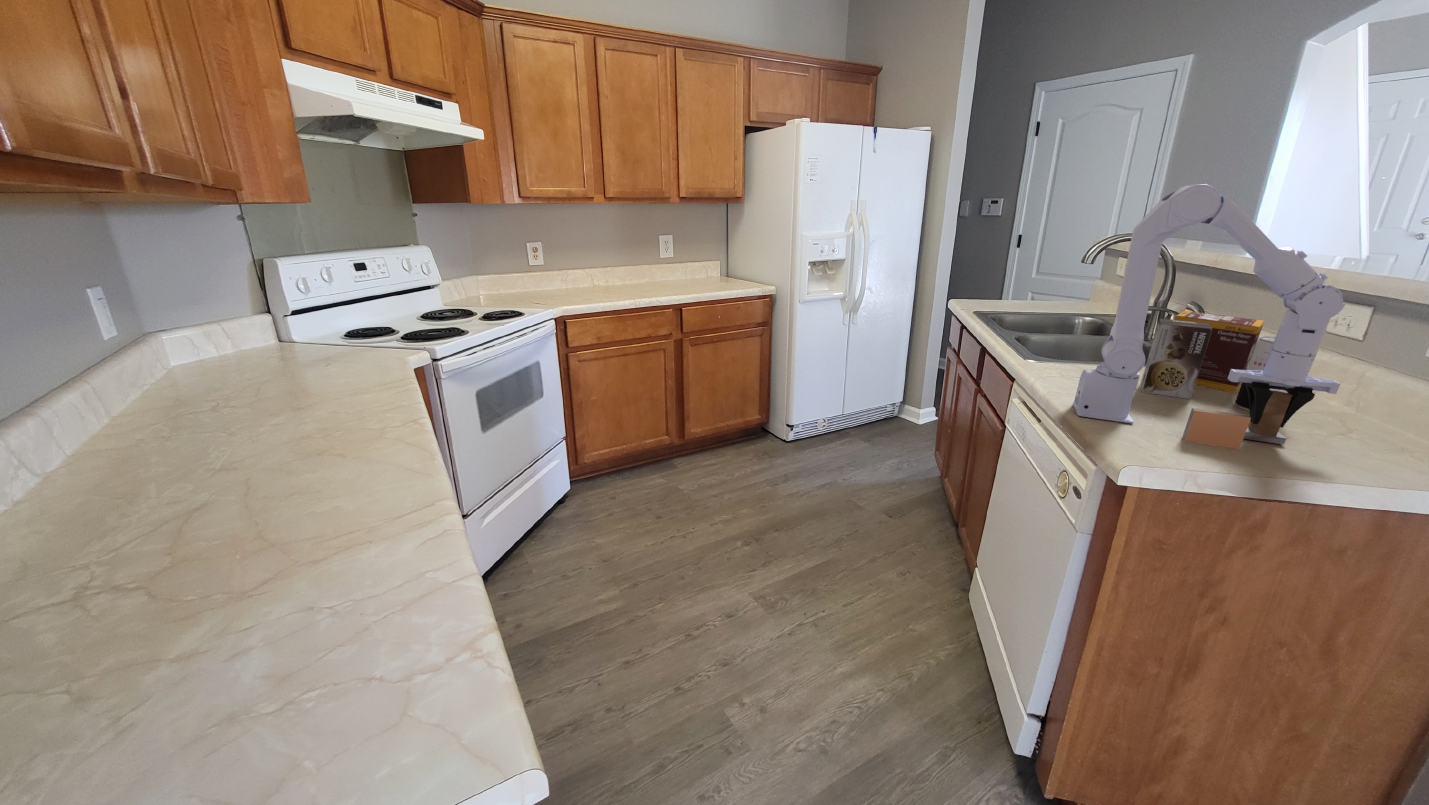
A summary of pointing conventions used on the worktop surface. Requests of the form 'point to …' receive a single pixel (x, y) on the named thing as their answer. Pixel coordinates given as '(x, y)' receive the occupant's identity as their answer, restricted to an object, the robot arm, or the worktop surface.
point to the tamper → (1271, 419)
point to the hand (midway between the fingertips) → (1265, 423)
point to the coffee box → (1175, 358)
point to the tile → (1216, 428)
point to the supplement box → (1225, 347)
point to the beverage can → (1256, 368)
